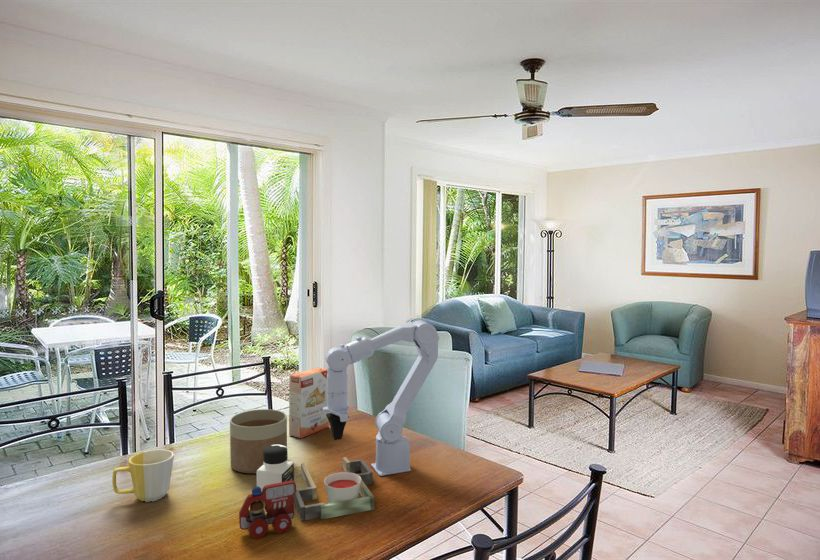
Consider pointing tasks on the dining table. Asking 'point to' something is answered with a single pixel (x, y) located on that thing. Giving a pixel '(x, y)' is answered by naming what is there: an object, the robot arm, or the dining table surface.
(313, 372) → the cracker box
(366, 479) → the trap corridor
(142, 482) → the mug
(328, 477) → the candle
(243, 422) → the planter
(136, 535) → the dining table surface
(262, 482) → the medicine bottle
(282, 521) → the toy fire truck
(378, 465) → the robot arm
